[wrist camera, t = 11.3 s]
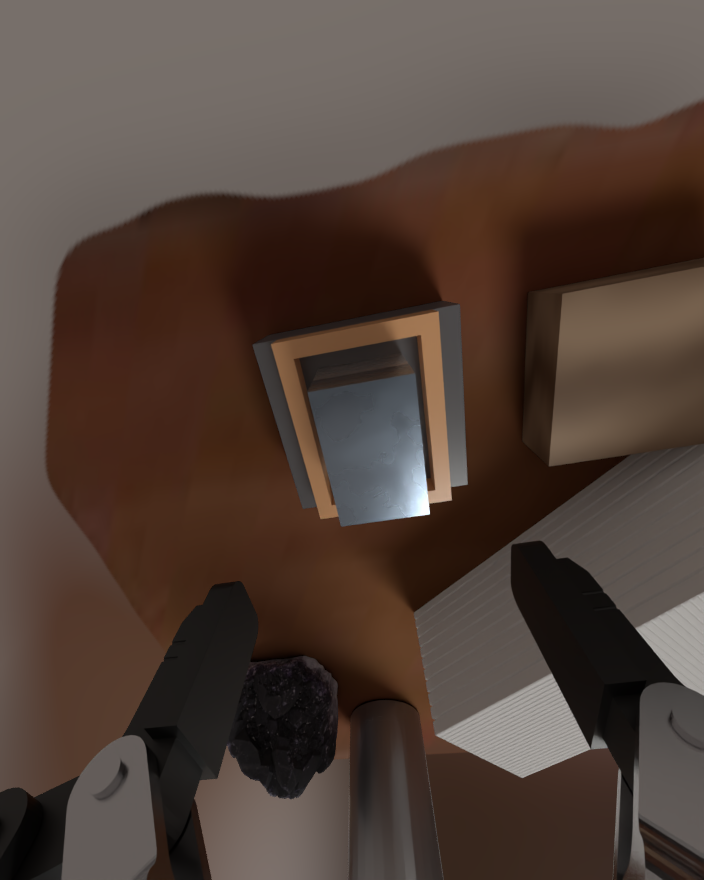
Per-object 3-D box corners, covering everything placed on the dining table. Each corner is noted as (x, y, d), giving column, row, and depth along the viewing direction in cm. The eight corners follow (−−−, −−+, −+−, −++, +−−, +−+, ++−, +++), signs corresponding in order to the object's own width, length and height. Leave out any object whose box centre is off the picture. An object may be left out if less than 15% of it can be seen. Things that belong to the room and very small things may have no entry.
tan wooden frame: (452, 457, 27) (474, 497, 22) (309, 479, 28) (299, 522, 23) (442, 300, 22) (468, 305, 17) (268, 335, 23) (244, 349, 18)
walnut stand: (670, 418, 25) (723, 440, 22) (522, 441, 26) (548, 466, 22) (709, 256, 20) (785, 250, 17) (527, 292, 21) (562, 293, 18)
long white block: (717, 388, 24) (956, 457, 15) (777, 469, 27) (1011, 571, 17) (413, 610, 35) (435, 735, 25) (479, 651, 38) (522, 778, 28)
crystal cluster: (235, 635, 38) (188, 748, 29) (351, 658, 38) (338, 779, 29) (238, 691, 45) (201, 796, 36) (337, 711, 45) (323, 822, 36)
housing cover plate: (408, 363, 17) (415, 373, 15) (423, 493, 20) (429, 514, 18) (312, 380, 17) (307, 392, 15) (342, 505, 20) (341, 526, 19)
